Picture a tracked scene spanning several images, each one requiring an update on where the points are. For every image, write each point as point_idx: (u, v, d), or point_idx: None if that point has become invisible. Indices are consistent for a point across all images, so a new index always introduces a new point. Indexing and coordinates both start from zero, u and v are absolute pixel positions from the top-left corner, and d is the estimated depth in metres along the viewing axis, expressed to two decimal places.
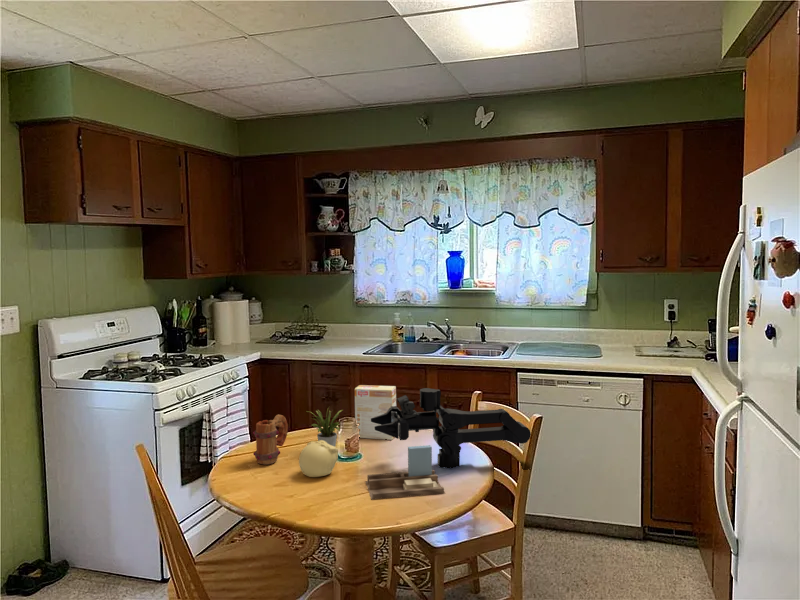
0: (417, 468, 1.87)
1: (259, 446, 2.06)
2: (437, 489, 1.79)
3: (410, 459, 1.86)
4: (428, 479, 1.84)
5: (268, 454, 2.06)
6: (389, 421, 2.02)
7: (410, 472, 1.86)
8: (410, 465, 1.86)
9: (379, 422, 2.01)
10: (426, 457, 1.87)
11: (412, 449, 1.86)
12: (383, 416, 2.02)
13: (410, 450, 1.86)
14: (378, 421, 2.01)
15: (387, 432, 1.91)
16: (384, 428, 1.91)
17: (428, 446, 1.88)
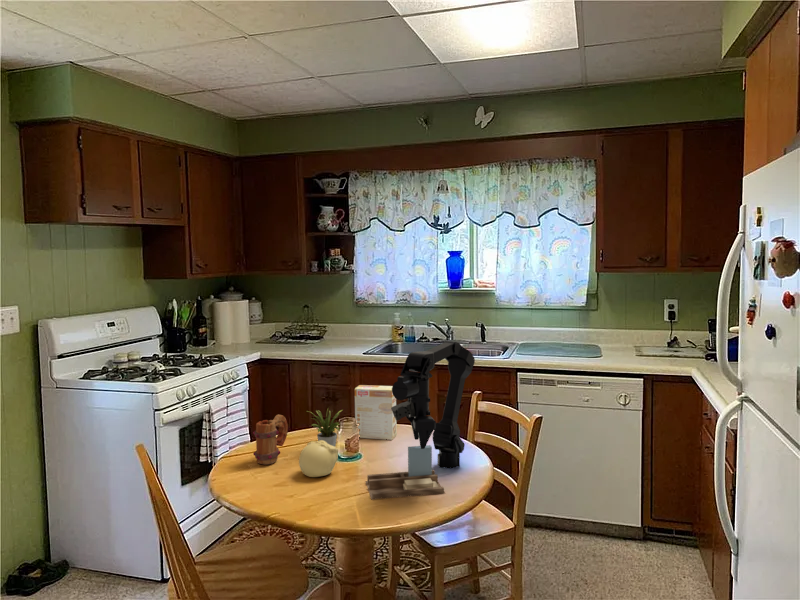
0: (417, 468, 1.87)
1: (259, 446, 2.06)
2: (437, 489, 1.79)
3: (410, 459, 1.86)
4: (428, 479, 1.84)
5: (268, 454, 2.06)
6: None
7: (410, 472, 1.86)
8: (410, 465, 1.86)
9: None
10: (426, 457, 1.87)
11: (412, 449, 1.86)
12: (413, 426, 1.91)
13: (410, 450, 1.86)
14: (418, 431, 1.92)
15: (427, 437, 1.81)
16: (423, 440, 1.81)
17: (428, 446, 1.88)
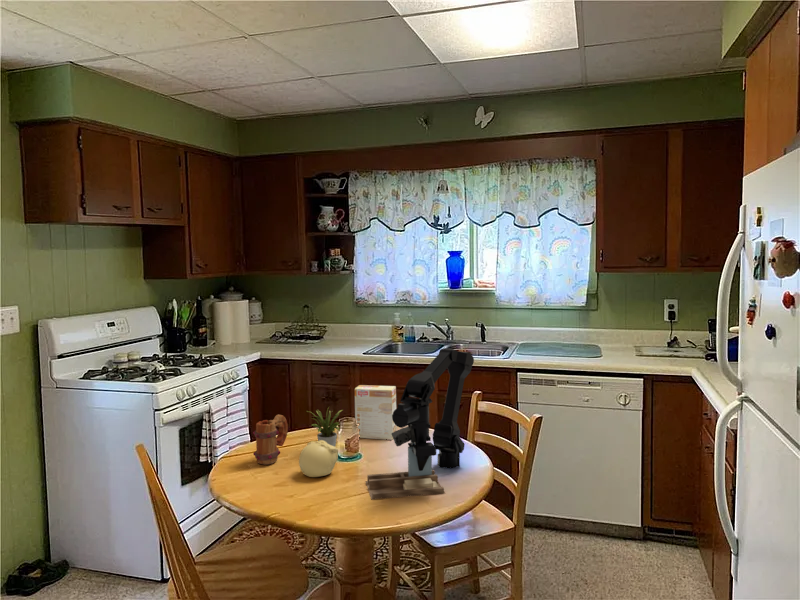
0: (417, 468, 1.87)
1: (259, 446, 2.06)
2: (437, 489, 1.79)
3: (410, 459, 1.86)
4: (428, 479, 1.84)
5: (268, 454, 2.06)
6: None
7: (410, 472, 1.86)
8: (410, 465, 1.86)
9: None
10: None
11: (412, 449, 1.86)
12: None
13: (410, 450, 1.86)
14: None
15: (425, 459, 1.85)
16: (421, 462, 1.85)
17: None
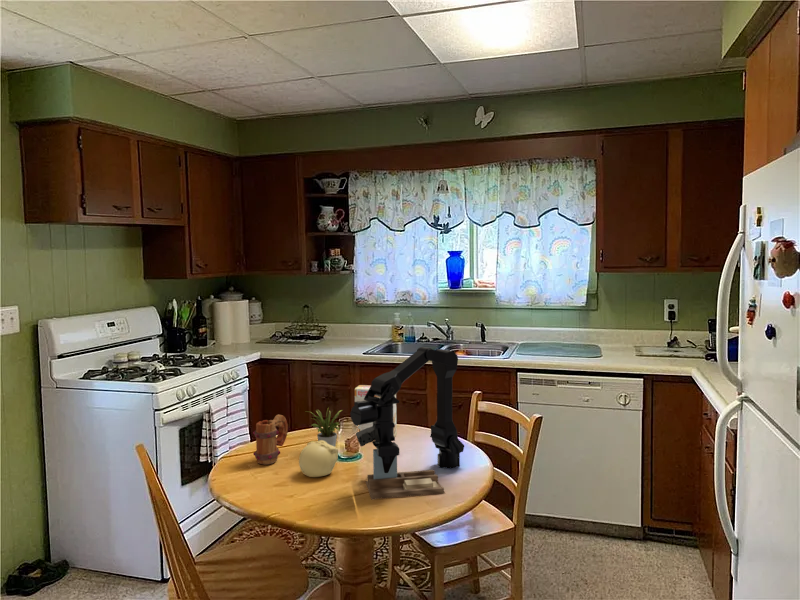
0: (382, 471, 1.85)
1: (259, 446, 2.06)
2: (437, 489, 1.79)
3: (375, 462, 1.84)
4: (428, 479, 1.84)
5: (268, 454, 2.06)
6: None
7: (375, 475, 1.84)
8: (375, 468, 1.84)
9: None
10: None
11: None
12: None
13: (375, 452, 1.84)
14: None
15: (390, 461, 1.81)
16: (386, 464, 1.82)
17: None
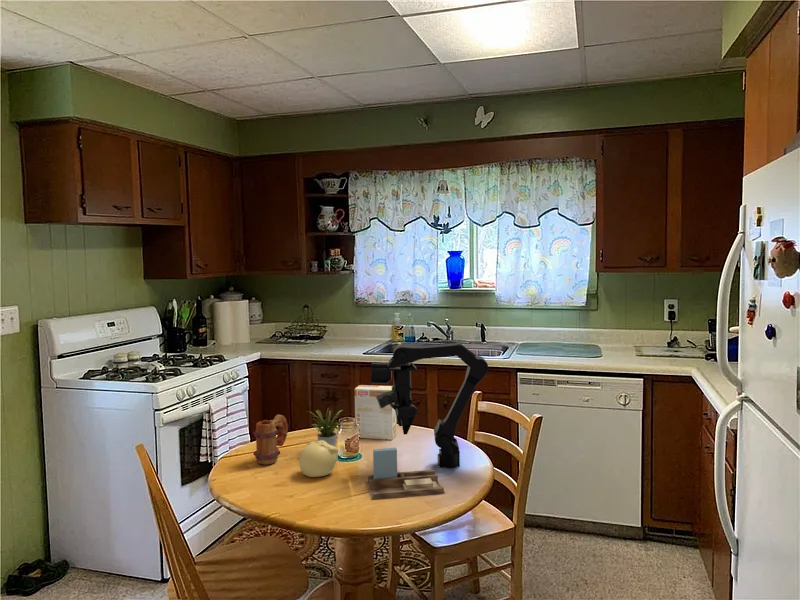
0: (382, 471, 1.85)
1: (259, 446, 2.06)
2: (437, 489, 1.79)
3: (375, 462, 1.84)
4: (428, 479, 1.84)
5: (268, 454, 2.06)
6: None
7: (375, 475, 1.84)
8: (375, 468, 1.84)
9: None
10: (391, 460, 1.85)
11: (377, 451, 1.84)
12: None
13: (375, 452, 1.84)
14: None
15: (409, 423, 1.95)
16: (405, 426, 1.96)
17: (393, 448, 1.86)
